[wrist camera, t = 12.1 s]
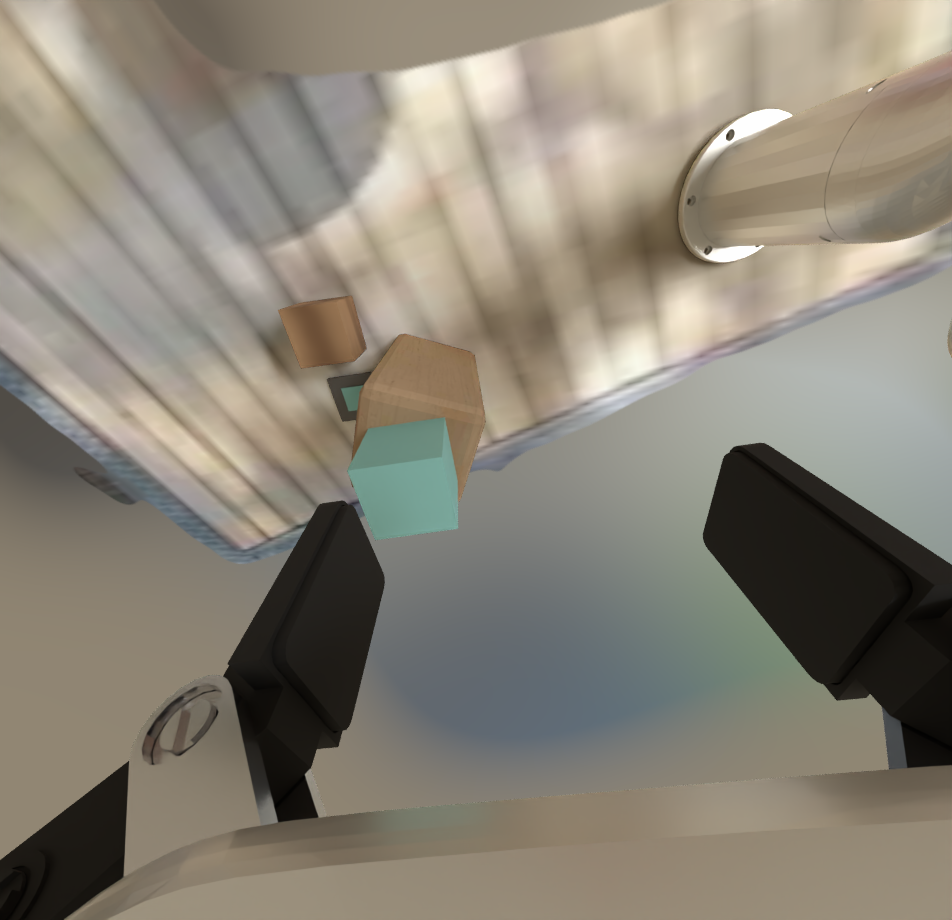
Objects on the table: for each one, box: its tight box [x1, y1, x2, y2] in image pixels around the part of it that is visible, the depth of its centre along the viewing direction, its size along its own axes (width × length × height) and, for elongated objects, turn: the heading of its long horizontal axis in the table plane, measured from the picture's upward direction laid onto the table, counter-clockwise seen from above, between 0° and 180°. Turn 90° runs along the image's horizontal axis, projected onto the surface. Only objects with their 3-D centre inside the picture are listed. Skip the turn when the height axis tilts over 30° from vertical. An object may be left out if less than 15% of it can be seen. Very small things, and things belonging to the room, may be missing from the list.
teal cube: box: [347, 417, 458, 540], centre depth 25 cm, size 6×6×6 cm
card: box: [327, 372, 372, 422], centre depth 46 cm, size 6×6×1 cm
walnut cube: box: [278, 296, 367, 368], centre depth 39 cm, size 6×6×6 cm
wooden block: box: [351, 334, 486, 501], centre depth 36 cm, size 10×10×20 cm
